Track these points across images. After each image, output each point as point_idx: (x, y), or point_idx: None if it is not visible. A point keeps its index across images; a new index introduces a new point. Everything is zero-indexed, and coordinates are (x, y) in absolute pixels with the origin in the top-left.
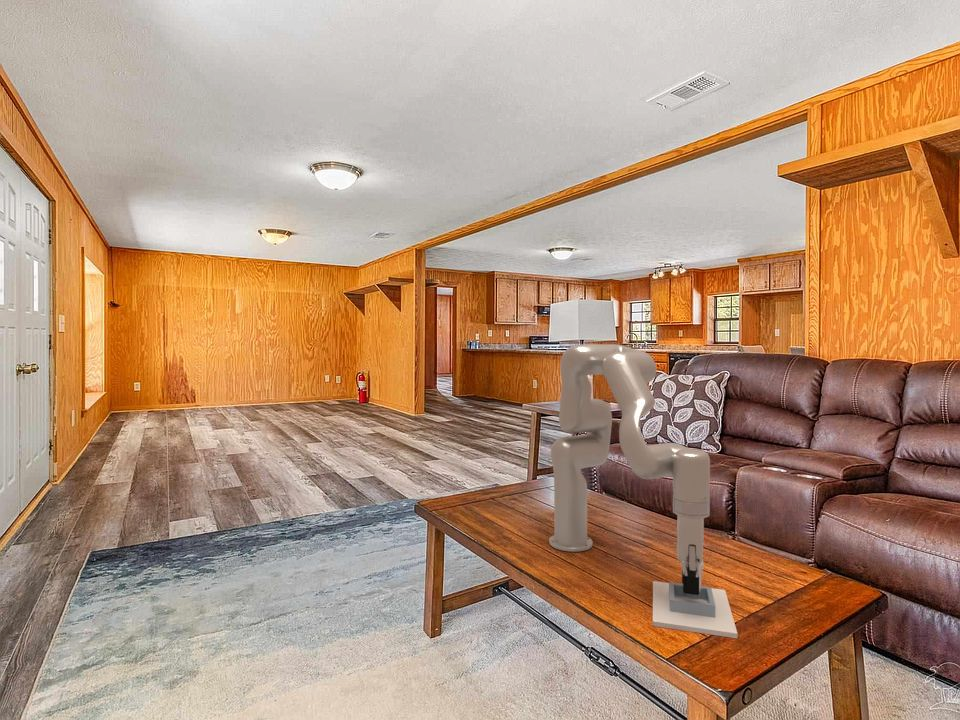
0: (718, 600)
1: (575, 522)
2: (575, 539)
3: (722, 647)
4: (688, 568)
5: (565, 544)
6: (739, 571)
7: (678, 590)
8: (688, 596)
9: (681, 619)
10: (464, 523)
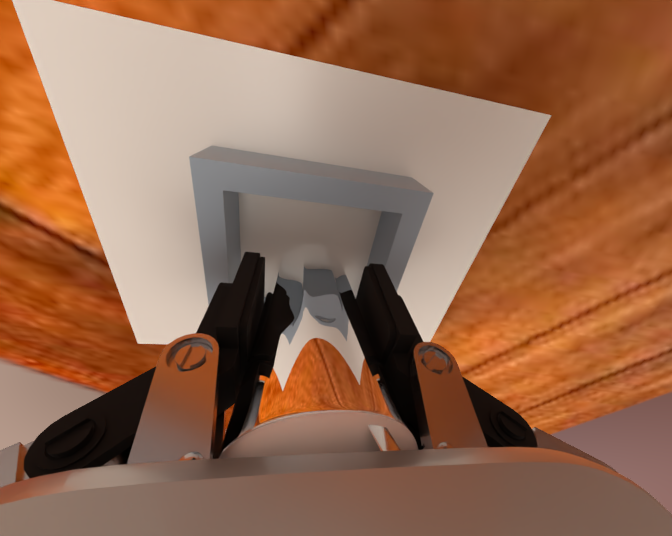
0: None
1: None
2: None
3: (52, 289)
4: (25, 469)
5: None
6: (536, 379)
7: (387, 225)
8: (279, 260)
9: (144, 188)
10: None
